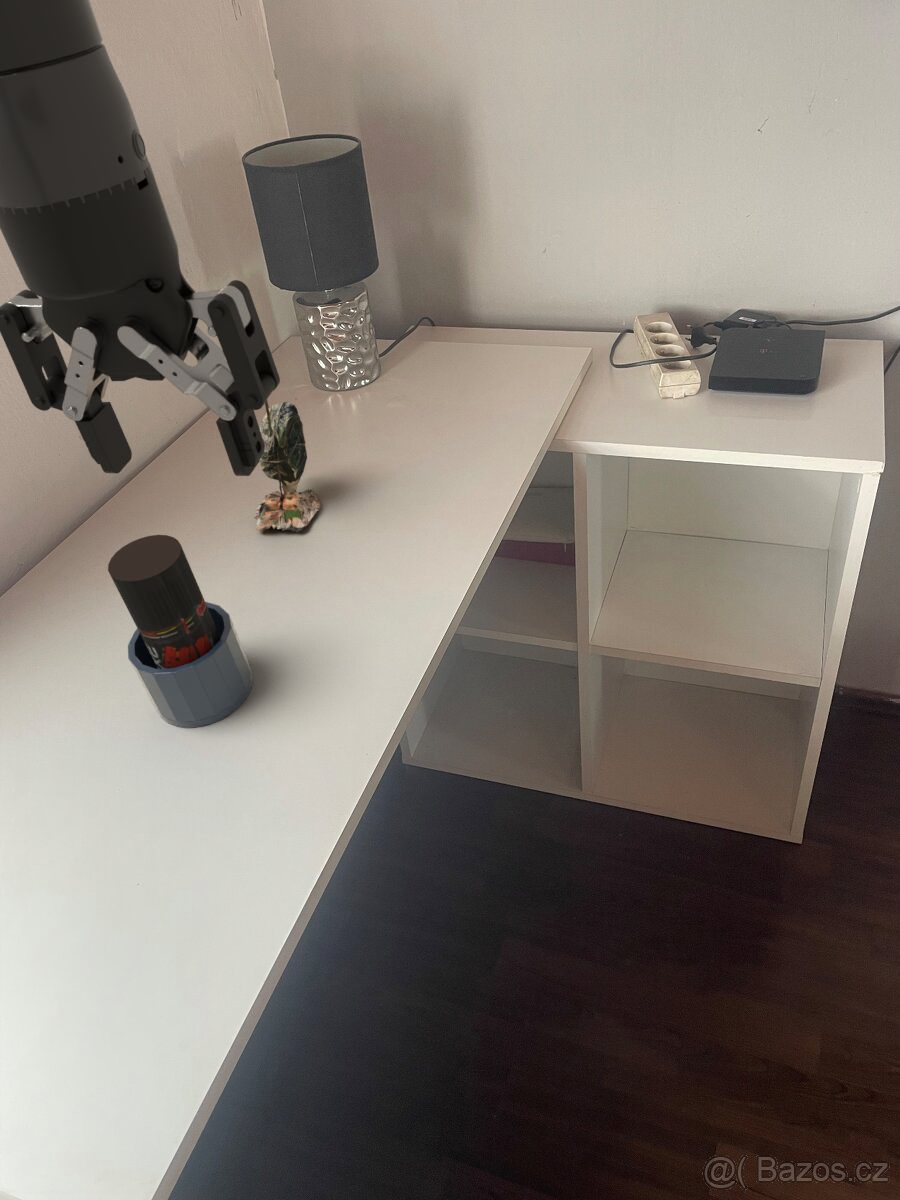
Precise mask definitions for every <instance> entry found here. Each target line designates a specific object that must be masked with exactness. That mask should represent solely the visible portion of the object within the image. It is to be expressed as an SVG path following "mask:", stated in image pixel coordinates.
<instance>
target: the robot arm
mask: <svg viewBox="0 0 900 1200" xmlns="http://www.w3.org/2000/svg"><path fill="white" fill-rule="evenodd" d="M103 40H104V39H103V37H102V34H101V31H100V28H99V25H98V22H97V19H96V16H95V13H94V10H93V7H92V4H91V1H90V0H0V232H1V234H2V236H3V238H4V240H5V243H6V244H7V246H8V249H9V251H10V253H11V256H12V257H13V261H14V262H15V264H16V266H17V268H18V271H19V273H20V275H21V277H22V279H23V281H24V284H25V285H26V287H27V289H23V290H21V291H19V293H16V294H15V295H14V296H13V297H12V298H10V299H8V300H7V301H6V302H4V303H3V304H1V305H0V336H1V337H2V340H3V342H4V344H5V346H6V349H7V351H8V353H9V355H10V357H11V360H12V363H13V364H14V366H15V369H16V371H17V374H18V376H19V377H20V380H21V382H22V384H23V387H24V389H25V391H26V394H27V395H28V396H27V397H28V398H29V401H30V402H31V404H32V405H33V406H34V407H35V408H36V409H38V410H39V411H43V412H46V411H48V410H50V409H55V410H59V411H62V412H63V414H64V415H65V416H66V417H67V418H68V419H70V420H71V421H74V423H75V425H76V427H77V429H78V431H79V433H80V435H81V437H82V440H83V442H84V444H85V446H86V448H87V450H88V453H89V455H90V457H91V458H92V459H93V460H94V462H95V463H96V464H97V465H100V467H101V469H102V471H103V472H104V473H105V474H119V473H120V472H122V471H123V469H124V468H125V467H126V466H127V465H128V464H129V463H130V461H131V460H132V456H133V452H132V448H131V447H130V444H129V442H128V439H127V437H126V435H125V432H124V430H123V428H122V426H121V424H120V421H119V419H118V416H117V414H116V412H115V410H114V408H113V405H112V402H110V401H103V399H104V397H105V394H106V391H107V388H108V384H109V381H111V382H126V381H129V380H132V379H135V378H136V379H140V380H146V381H149V382H153V381H154V382H155V381H158V382H159V381H164V380H165V379H166V380H167V381H168V382H169V383H171V384H172V385H173V386H174V388H177V390H178V391H180V392H181V393H182V394H184V395H186V396H191V395H192V396H195V397H196V398H197V399H198V400H199V401H201V402H202V404H204V405H205V406H206V407H207V408H208V409H210V411H211V412H213V413H214V414H215V415H216V416H217V417H218V419H217V420H216V421H215V423H216V426H217V429H218V432H219V434H220V438H221V440H222V444H223V446H224V449H225V452H226V456H227V457H228V461H229V464H230V466H231V469H232V472H233V474H234V475H235V476H236V477H249V476H251V474H252V473H253V472H254V471H255V469H256V467H257V466H258V464H260V458H261V457H262V456H263V454H264V450H265V444H264V441H263V438H262V435H261V432H260V428H259V427H260V425H259V422H258V419H257V415H256V412H255V411H258V410H261V409H262V408H263V406H265V402H266V400H267V401H268V399H269V397H270V396H271V395H272V393H273V392H274V391H275V390H276V389H277V388H278V387H279V385H280V382H281V378H280V374H279V371H278V369H277V366H276V363H275V360H274V358H273V354H272V351H271V349H270V346H269V342H268V340H267V337H266V334H265V332H264V328H263V326H262V322H261V320H260V318H259V315H258V312H257V309H256V306H255V303H254V300H253V297H252V294H251V291H250V289H249V287H248V285H246V284H245V283H244V282H243V281H242V280H238V279H233V280H231V281H230V282H228V284H227V285H226V286H224V287H223V288H222V289H214V290H206V291H196V290H194V288H193V287H192V286H191V284H189V282H188V281H187V279H186V278H185V277H184V274H183V272H182V269H181V265H180V257H179V247H178V242H177V240H176V236H175V233H174V231H173V228H172V225H171V221H170V219H169V216H168V215H169V214H168V212H167V210H166V209H167V208H166V207H165V204H164V201H163V198H162V195H161V191H160V188H159V186H158V183H157V180H156V177H155V173H154V171H153V168H152V165H151V162H150V158H149V156H148V153H147V148H146V144H145V141H144V139H143V137H142V135H141V132H140V129H139V125H138V123H137V120H136V117H135V114H134V112H133V111H134V110H133V109H132V106H131V103H130V101H129V99H128V96H127V93H126V91H125V89H124V87H123V85H122V82H121V80H120V79H119V76H118V74H117V72H116V70H115V67H114V65H113V63H112V61H111V59H110V56H109V53H108V51H107V49H106V46H105V44H103V43H102V42H103ZM199 320H200V321H202V322H203V323H204V324H205V325H206V327H207V333H208V335H209V336H211V337H213V338H215V337H217V339H218V343H219V345H220V346H219V345H217V343H216V342H214V341H213V340H212V339H211V338H210V337H209V336H208V335H207V334H206V333H205V332H203V331H202V330H201V328H199V327H198V326H197V325H198V323H199ZM54 333H55V334H54ZM55 335H57V336H58V337H59V338H60V339H61V340H63V342H65V343H66V344H67V345H68V346H69V347H70V348H71V352H70V356H69V361H68V365H67V364H66V361H65V359H64V356H63V354H62V351H61V349H60V345H59V344H58V340H57V339H56V336H55ZM189 352H190V354H191V355H193V356H194V358H195V359H196V361H197V365H195V366H192V365H189V364H187V363H186V362H185V360H186V358H187V356H188V353H189ZM45 375H46V376H45ZM46 378H47V379H46Z"/></svg>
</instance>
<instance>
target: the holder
mask: <svg viewBox="0 0 900 1200" xmlns="http://www.w3.org/2000/svg"><path fill="white" fill-rule="evenodd" d="M205 603H206V605H207V607H208V610H209V612H210V614H211V617H212V619H213V621H214V624H215V626H216V628H217V631H218V633H219V635H220V641H219V642H218V643H217V644H216V645H215V646H214V647H213V648H212V649H211V650H210V651H209V652H208V653H207V654H205V655H203V656H202V657H200V658H199V659H197V660H195V661H194V662H192V663H189V664H185V665H182V666H179V667H176V668H165V669H158V668H157V666H156V664H155V662H154V660H153V658H152V656H151V654H150V652H149V650H148V648H147V646H146V644H145V642H144V640H143V638H142V636H141V634H140V632H139V630H138V628H136V629H135V631H134V632H133V634H132V635H131V638H130V640H129V642H128V644H127V656H128V657H127V658H128V661H129V662H130V665H131V666H132V668H133V670H134V672H135V673H136V675H137V678H138V679H139V681H140V683H141V685H142V687H143V689H144V690H145V692H146V694H147V696H148V698H149V700H150V701H151V704H152V705H153V707H154V708H155V710H156V711H157V713H158V715H159V716H160V717H161V719H162V720H163V721H165V722H166V723H168V724H169V725H172V726H174V727H179V728H184V729H185V728H187V729H190V728H192V729H193V728H200V727H205V726H209V725H211V724H215V723H217V722H219V721H222V720H223V719H225V718H226V717H228V716H230V715H232V713H234V712H235V711H237V709H238V708H240V707H241V706H242V704H244V702H245V701H246V699H247V698H248V697H249V695H250V693H251V690H252V688H253V682H254V676H253V672H252V669H251V667H250V663H249V660H248V657H247V656H246V653H245V650H244V647H243V645H242V643H241V640H240V638H239V636H238V633H237V630H236V628H235V625H234V623H233V621H232V618H231V616H230V614H229V612H227V611H226V610H225V609H224V608H223V607H222V606H221V605H219V604H216V603H212V602H209V601H205Z"/></svg>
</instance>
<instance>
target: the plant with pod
mask: <svg viewBox="0 0 900 1200" xmlns="http://www.w3.org/2000/svg"><path fill="white" fill-rule="evenodd" d="M293 400H294V401H297V398H296V397H294V398H293ZM264 406H265V412H266V413H265V414H264V416H263V418H262V421H261V423H260V425H259V428H260V432H261V435H262V438H263V441H264V444H265V450H264V454H263V456H262V457H261V458H260V461H259V465H260V466H261V471H262V472H263V473H264V475H265V476H266V477H267V478H269V479H270V480H274V481H275V480H276V481H278V483H279V484H278V485H279V490H275V491H272V492H271V493H269V494H266V495H265V496H264V498H263V499H262V500H261V503H259V504H257V507H256V508H255V512H256V513H255V514H256V516H254V519H255V520H256V521H255V523H256V527H255V530H256V531H258V532H261V531H265V530H269V529H270V528H271V527H272V529H273V530H275V529H277V530H280V529H282V531H285V530H287V531H289V530H290V531H292V532H296V533H298V532H300V531H302V530H304V529H305V528H306V527H307V526H308V525H309V524H310V523H311V520H312V519H313V517H314V516H315V514H317V511H320V509H321V502H320V499H318V497H317V495H318V494H317V493H316V491H315V490H314V488H312V489H309V488H308V489H305V490H304V491H299V492H298V491H297V489H298V485H299V483H300V481H301V478H302V476H303V474H304V471H305V468H306V464H307V460H308V452H307V448H306V440H305V439H306V438H305V434H304V424H303V421H302V420H301V416H300V415H299V412H298V408H297V406H296V404H295V403H292V402H287V401H284V402H277V403H274V404H273V405H271V406H270V405H269V403H268V399H267V400H266V402H265V404H264ZM269 406H270V407H269Z"/></svg>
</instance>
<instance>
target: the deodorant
mask: <svg viewBox="0 0 900 1200" xmlns="http://www.w3.org/2000/svg"><path fill="white" fill-rule="evenodd" d="M107 572H108V573H109V576H110V577H111V580H112V581H113V584H114V585H115V588H116V589H117V591H118V593H119V595H120V597H121V599H122V601H123V603H124V605H125V607H126V608H127V611H128V613H129V615H130V617H131V619H132V620H133V622H134V624H135V627H136V629H138V630H139V632H140V634H141V636H142V638H143V640H144V642H145V644H146V646H147V648H148V650H149V652H150V654H151V656H152V658H153V660H154V662H155V664H156V666H157V668H158V669H165V668H176V667H179V666H182V665H185V664H189V663H192V662H194V661H195V660H197V659H199V658H200V657H202V656H203V655H205V654H207V653H208V652H209V651H210V650H211V649H212V648H213V647H214V646H215V645H216V644H217V643H218V642H219V641H220V635H219V633H218V631H217V628H216V626H215V624H214V621H213V619H212V617H211V614H210V612H209V610H208V607H207V605H206V603H205V602H206V600H205V598H204V596H203V593H202V591H201V588H200V585H199V584H198V581H197V579H196V577H195V575H194V573H193V570H192V568H191V565H190V563H189V561H188V559H187V556H186V554H185V551H184V549H183V547H182V544H181V543H180V541H179V540H178V539H177V538H175V537H174V536H170V535H167V534H153V535H152V534H151V535H147V536H144V537H140V538H138V539H135V540H132V541H131V542H128V543H127V544H125V545H124V546H122V547H121V548H120V549H118V550H116V552H115V553H114V554H113V555H112V557H111V558H110V559H109V562H108V565H107Z"/></svg>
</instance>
